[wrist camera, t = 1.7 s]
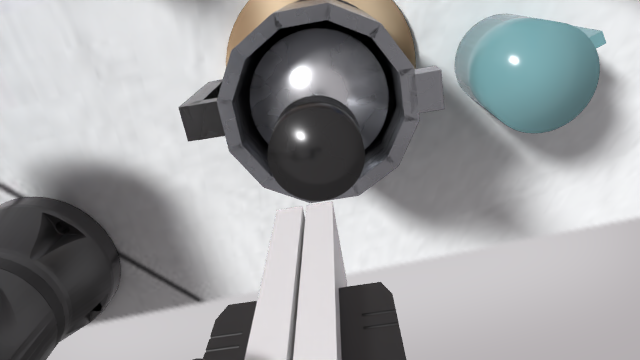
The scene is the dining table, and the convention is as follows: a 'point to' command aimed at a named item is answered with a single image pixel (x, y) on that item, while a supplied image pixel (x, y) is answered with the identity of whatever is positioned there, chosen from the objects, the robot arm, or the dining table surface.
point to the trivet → (373, 3)
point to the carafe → (234, 89)
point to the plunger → (318, 110)
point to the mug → (529, 70)
